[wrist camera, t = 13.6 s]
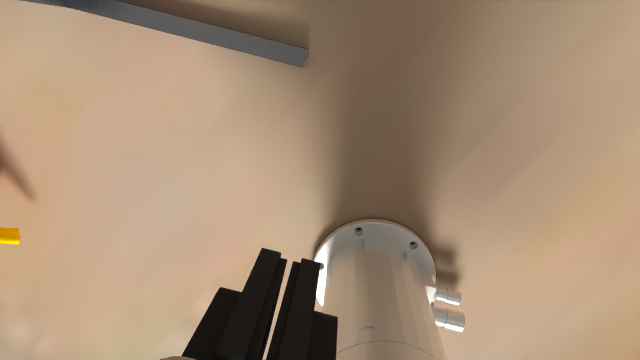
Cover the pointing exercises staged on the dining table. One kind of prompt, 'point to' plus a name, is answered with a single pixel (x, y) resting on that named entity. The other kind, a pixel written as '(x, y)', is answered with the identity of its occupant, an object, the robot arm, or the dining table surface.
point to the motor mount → (187, 29)
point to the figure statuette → (9, 236)
